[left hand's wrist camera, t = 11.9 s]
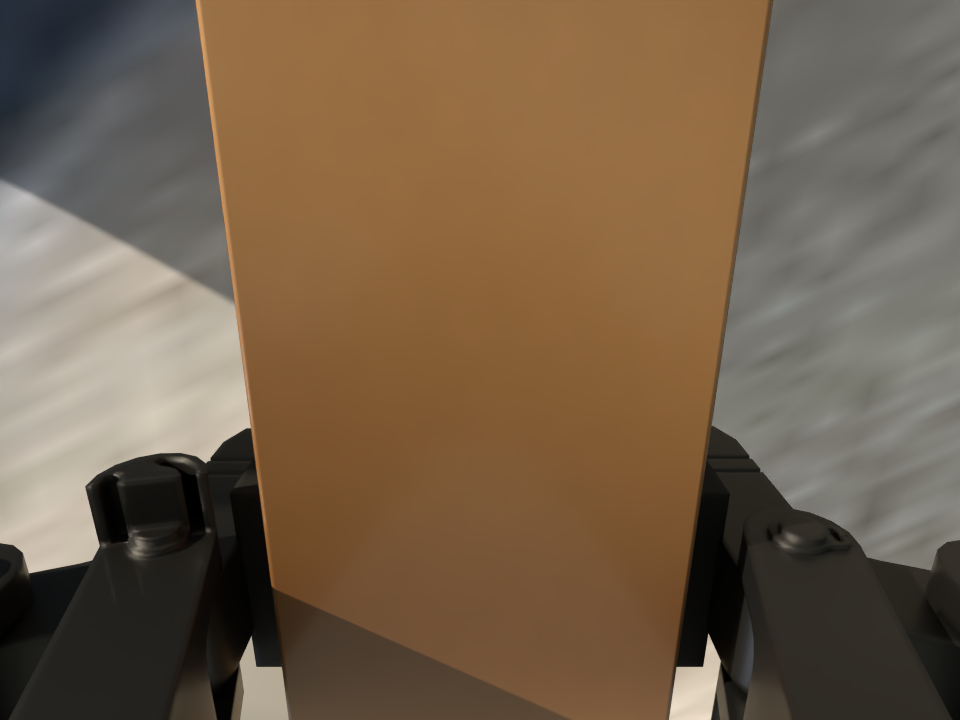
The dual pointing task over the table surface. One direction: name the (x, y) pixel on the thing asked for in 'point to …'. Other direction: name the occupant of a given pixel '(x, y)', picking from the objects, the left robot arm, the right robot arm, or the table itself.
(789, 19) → the table surface
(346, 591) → the beam
